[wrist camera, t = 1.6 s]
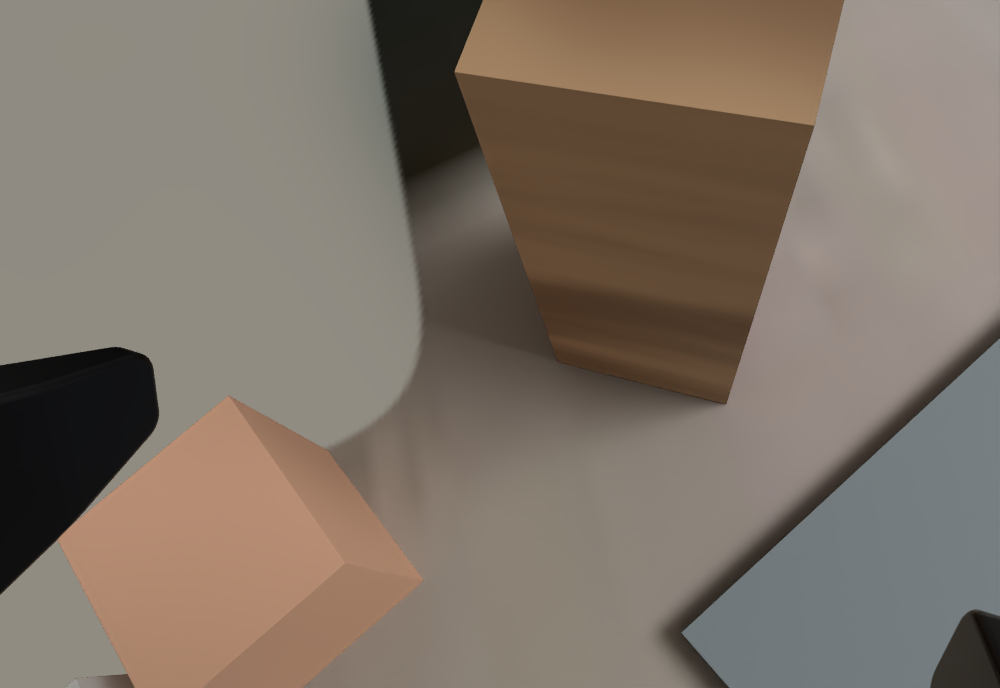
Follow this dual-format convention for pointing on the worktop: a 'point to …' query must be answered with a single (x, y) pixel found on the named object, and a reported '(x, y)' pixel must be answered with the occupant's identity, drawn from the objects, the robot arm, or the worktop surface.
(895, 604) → the slate mat
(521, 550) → the worktop surface
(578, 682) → the worktop surface
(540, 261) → the walnut brick
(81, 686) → the grey brick
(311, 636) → the terracotta brick
